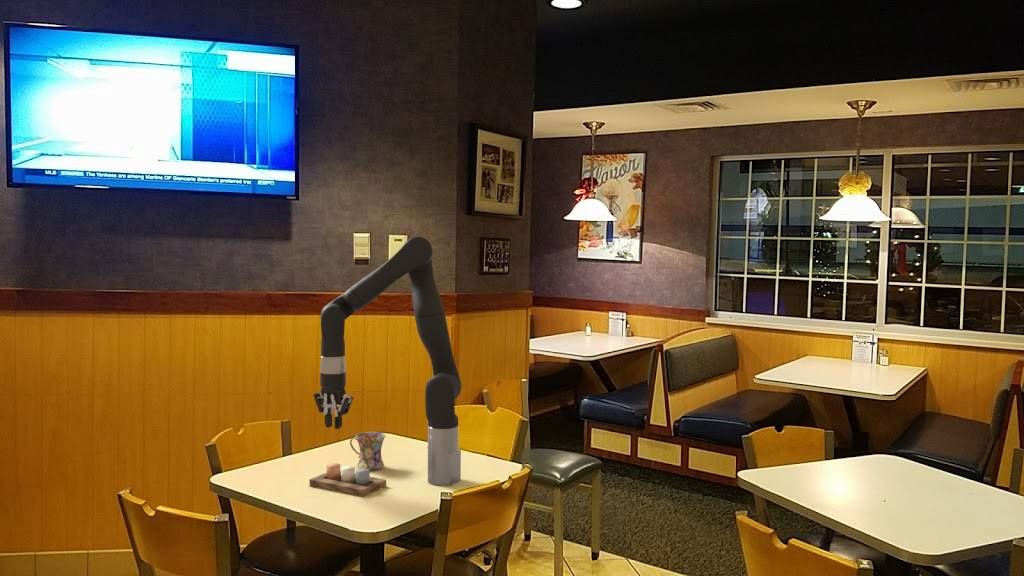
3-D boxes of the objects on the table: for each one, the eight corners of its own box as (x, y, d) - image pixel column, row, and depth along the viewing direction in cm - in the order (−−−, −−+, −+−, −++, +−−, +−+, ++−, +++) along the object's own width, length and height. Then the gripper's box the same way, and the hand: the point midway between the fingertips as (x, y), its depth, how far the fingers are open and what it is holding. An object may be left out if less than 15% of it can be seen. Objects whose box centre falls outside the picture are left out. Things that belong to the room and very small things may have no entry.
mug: (390, 465, 259) (390, 433, 258) (376, 473, 250) (376, 440, 249) (357, 461, 262) (357, 430, 262) (343, 469, 254) (342, 436, 253)
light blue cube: (372, 482, 235) (372, 469, 235) (363, 486, 232) (363, 473, 231) (361, 480, 237) (361, 467, 237) (352, 484, 234) (352, 471, 233)
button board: (386, 486, 237) (386, 479, 237) (363, 496, 228) (363, 490, 227) (333, 476, 246) (333, 469, 246) (309, 486, 237) (309, 479, 237)
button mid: (357, 480, 238) (357, 467, 237) (348, 483, 234) (348, 470, 234) (346, 478, 240) (346, 465, 239) (338, 481, 236) (338, 468, 236)
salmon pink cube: (343, 477, 240) (343, 464, 240) (334, 480, 237) (334, 467, 236) (332, 475, 242) (332, 462, 242) (323, 478, 239) (323, 465, 238)
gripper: (359, 370, 237) (359, 427, 238) (323, 366, 244) (323, 422, 245) (343, 374, 231) (343, 433, 232) (306, 370, 237) (306, 427, 238)
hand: (333, 427), depth 238 cm, fingers open, 3 cm apart
